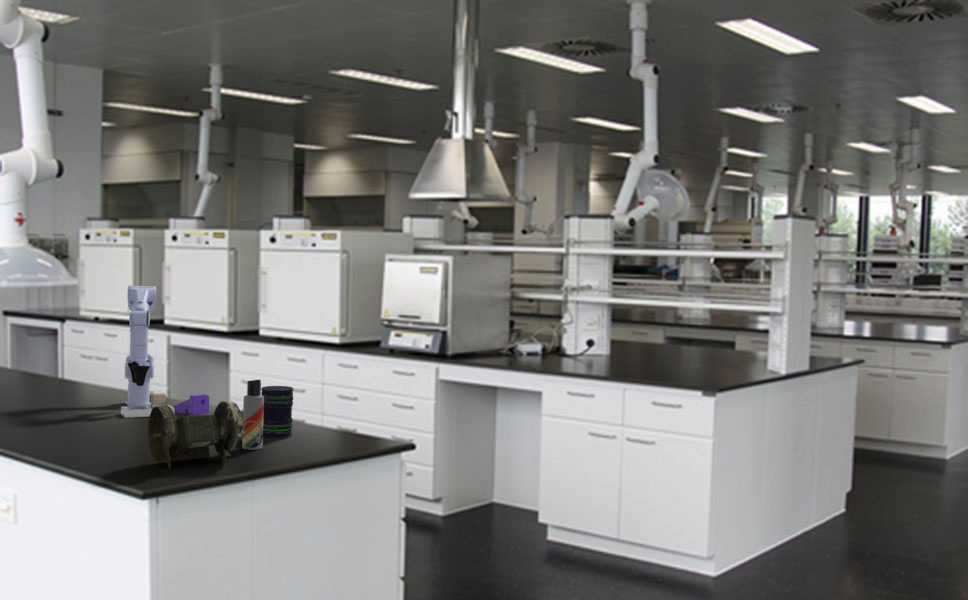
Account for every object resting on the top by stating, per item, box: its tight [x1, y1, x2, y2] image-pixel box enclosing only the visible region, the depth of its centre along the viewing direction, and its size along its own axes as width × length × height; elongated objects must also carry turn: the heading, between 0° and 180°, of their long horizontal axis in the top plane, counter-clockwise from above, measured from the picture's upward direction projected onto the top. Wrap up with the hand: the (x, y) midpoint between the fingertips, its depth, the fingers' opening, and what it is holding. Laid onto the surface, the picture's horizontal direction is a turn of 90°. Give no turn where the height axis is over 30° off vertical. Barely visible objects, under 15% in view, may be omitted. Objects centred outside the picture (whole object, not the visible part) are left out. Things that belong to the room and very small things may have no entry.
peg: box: [150, 392, 167, 409], centre depth 323 cm, size 4×4×7 cm
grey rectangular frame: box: [120, 404, 176, 419], centre depth 321 cm, size 8×16×2 cm, turn 120°
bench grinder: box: [147, 400, 244, 469], centre depth 251 cm, size 20×22×20 cm
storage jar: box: [261, 385, 294, 440], centre depth 292 cm, size 10×10×15 cm
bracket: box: [172, 393, 210, 416], centre depth 330 cm, size 12×7×7 cm, turn 58°
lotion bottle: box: [241, 379, 264, 451], centre depth 272 cm, size 6×6×20 cm
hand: (138, 384), depth 327 cm, fingers open, 7 cm apart
